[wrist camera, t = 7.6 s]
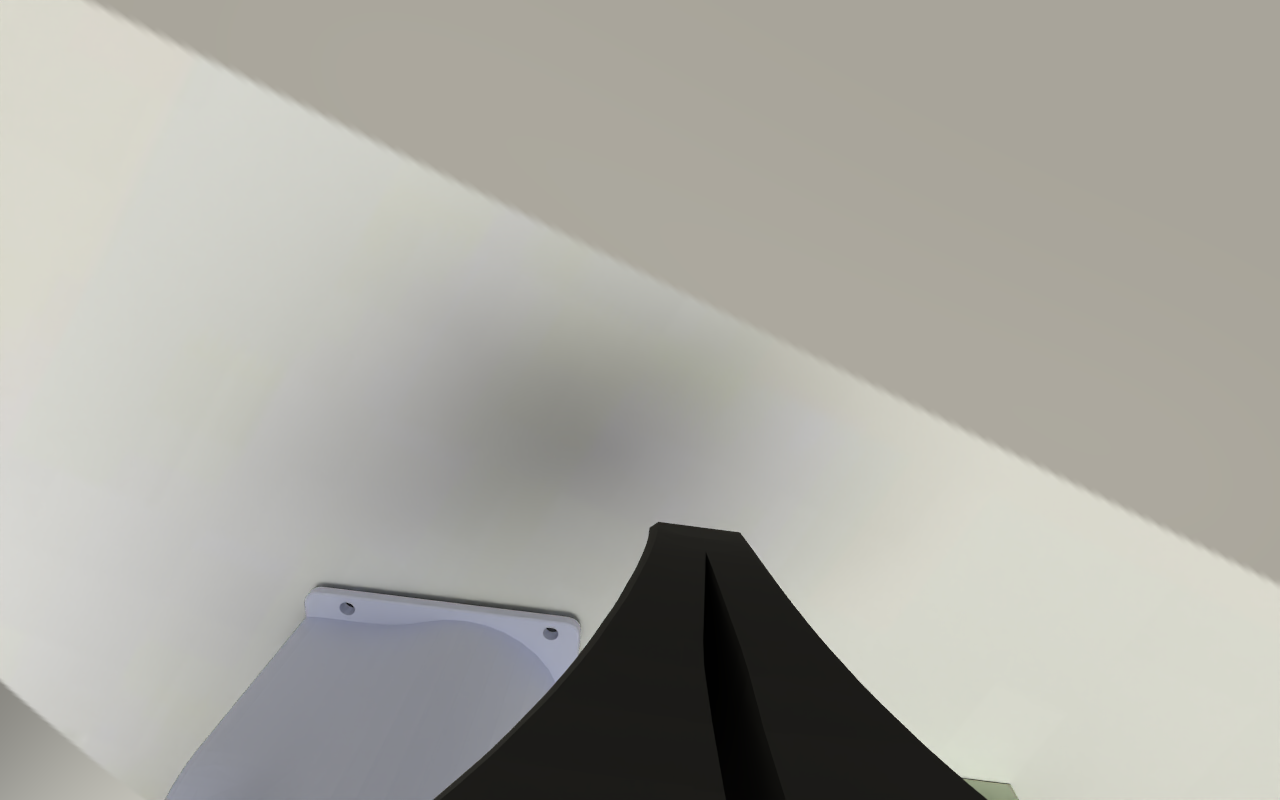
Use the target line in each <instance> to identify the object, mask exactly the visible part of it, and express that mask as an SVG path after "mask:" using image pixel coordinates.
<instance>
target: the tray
mask: <svg viewBox="0 0 1280 800" xmlns="http://www.w3.org/2000/svg"><path fill="white" fill-rule="evenodd" d="M963 780H965V781H966V782H967V783H968V784H969V785H971V786H972V787H973V788H974V789H975V790H977V791H978V792H979V793H980V794H981V795H983V796H984V797H985V798H986V799H987V800H1019V799H1018V798H1017V796H1016V794H1015V792H1014V790H1013V789H1012V787H1011V785H1009V784H1001V783H993V782H985V781H977V780H969V779H963Z"/></svg>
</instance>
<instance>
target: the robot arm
mask: <svg viewBox="0 0 1280 800" xmlns="http://www.w3.org/2000/svg"><path fill="white" fill-rule="evenodd" d="M346 602H347V603H350V604H352V605H353V606H354V608H353V607H350V606H348V605H347V604H346ZM305 614H306V618H305V619H304V620H303V621H302V623H301V624H300V625H299V626H298V627H297V629H296V630H295V631H294V632H293V634H292V635H291V636H290V637H289V638H288V640H287V641H286V642H285V643H284V645H283V646H282V647H281V648H280V649H279V651H278V652H277V653H276V654H275V656H274V657H273V658H272V659H271V660H270V662H269V663H268V664H267V665H266V666H265V668H264V669H263V670H262V671H261V673H260V674H259V675H258V676H257V677H256V679H255V680H254V681H253V682H252V684H251V685H250V686H249V687H248V688H247V690H246V691H245V692H244V693H243V695H242V696H241V697H240V698H239V699H238V701H237V702H236V703H235V704H234V705H233V707H232V708H231V709H230V710H229V712H228V713H227V714H226V715H225V716H224V718H223V719H222V720H221V721H220V723H219V724H218V725H217V726H216V727H215V729H214V730H213V731H212V732H211V734H210V735H209V736H208V737H207V738H206V740H205V741H204V742H203V743H202V745H201V746H200V747H199V748H198V749H197V751H196V752H195V753H194V755H193V756H192V757H191V759H190V760H189V761H188V763H187V764H186V766H185V767H184V768H183V770H182V772H181V773H180V775H179V776H178V778H177V779H176V781H175V783H174V784H173V786H172V788H171V789H170V791H169V793H168V795H167V797H166V798H165V800H987V799H986V798H985V797H984V796H983V795H981V794H980V793H979V792H978V791H977V790H975V789H974V788H973V787H972V786H971V785H969V784H968V783H967V782H966V781H965V780H963V779H962V778H961V777H960V776H959V775H957V774H956V773H955V772H954V771H953V770H952V769H951V768H949V767H948V766H947V765H946V764H945V763H944V762H943V761H942V760H940V759H939V758H938V757H937V756H936V755H935V754H934V753H932V752H931V751H930V750H929V749H928V748H927V747H926V746H925V745H924V744H923V743H922V742H921V741H919V740H918V739H917V738H916V737H915V736H914V735H913V734H912V733H911V732H910V731H909V730H908V729H907V728H906V727H905V726H904V725H903V724H902V723H901V722H900V721H899V720H897V719H896V718H895V717H894V716H893V715H892V714H891V713H890V712H889V711H888V710H887V709H886V708H885V707H884V706H883V705H882V704H881V703H880V702H879V701H878V700H877V699H876V698H875V697H874V696H873V695H872V694H871V693H870V692H869V691H868V690H867V689H866V688H865V687H864V686H863V685H862V684H861V683H860V682H859V681H858V680H857V679H856V677H855V676H854V675H853V674H852V673H851V672H850V671H849V670H848V669H847V667H846V666H845V665H844V664H843V663H842V662H841V661H840V660H839V659H838V657H837V656H836V655H835V654H834V653H833V652H832V651H831V650H830V649H829V648H828V646H827V645H826V644H825V643H824V642H823V641H822V639H821V638H820V637H819V636H818V635H817V634H816V632H815V631H814V630H813V629H812V628H811V626H810V625H809V624H808V623H807V621H806V620H805V619H804V618H803V616H802V615H801V614H800V613H799V611H798V610H797V609H796V608H795V606H794V605H793V604H792V603H791V601H790V600H789V599H788V597H787V596H786V595H785V593H784V592H783V591H782V589H781V588H780V587H779V585H778V584H777V583H776V581H775V580H774V579H773V577H772V576H771V574H770V573H769V572H768V570H767V569H766V568H765V566H764V565H763V563H762V562H761V561H760V559H759V558H758V556H757V555H756V554H755V552H754V551H753V550H752V548H751V547H750V545H749V544H748V543H747V541H746V540H745V539H744V537H743V536H742V535H741V533H739V532H731V531H724V530H716V529H708V528H701V527H693V526H685V525H677V524H670V523H662V522H658V523H656V524H655V525H653V526H652V527H650V529H649V536H648V541H647V544H646V547H645V549H644V552H643V554H642V556H641V559H640V561H639V563H638V565H637V567H636V569H635V571H634V573H633V575H632V576H631V578H630V580H629V581H628V583H627V585H626V587H625V588H624V590H623V592H622V594H621V595H620V597H619V599H618V600H617V602H616V604H615V605H614V607H613V608H612V610H611V611H610V613H609V614H608V615H607V617H606V618H605V620H604V621H603V622H602V624H601V625H600V627H599V628H598V630H597V631H596V632H595V634H594V635H593V637H592V638H591V640H590V641H589V642H588V644H587V645H586V646H585V648H584V649H583V650H582V651H581V653H580V654H579V647H580V636H581V626H580V624H579V623H578V621H576V620H575V619H573V618H570V617H565V616H557V615H549V614H540V613H532V612H524V611H516V610H508V609H500V608H492V607H483V606H475V605H467V604H459V603H451V602H443V601H435V600H426V599H418V598H410V597H402V596H394V595H386V594H378V593H369V592H361V591H353V590H345V589H337V588H329V587H316V588H314V589H312V590H311V592H310V593H309V594H308V595H307V596H306V598H305ZM550 627H551V628H554V629H556V630H557V632H550V631H548V630H547V629H546V628H550Z"/></svg>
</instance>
